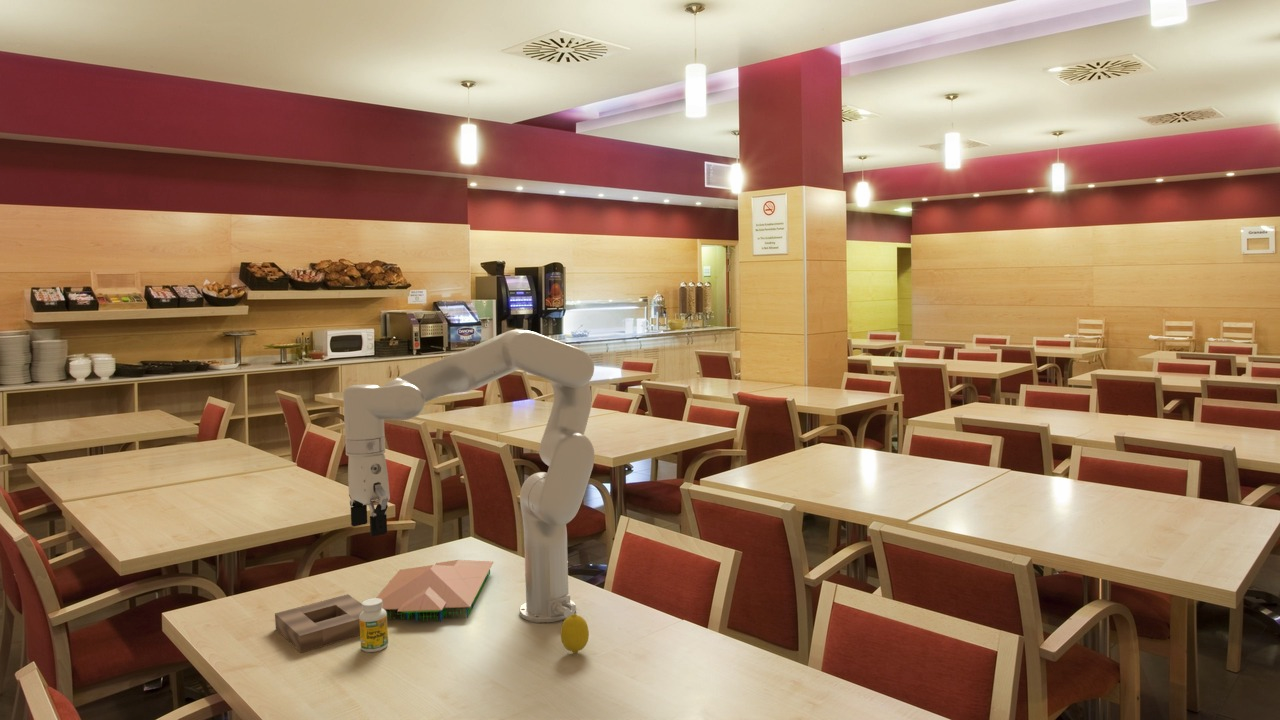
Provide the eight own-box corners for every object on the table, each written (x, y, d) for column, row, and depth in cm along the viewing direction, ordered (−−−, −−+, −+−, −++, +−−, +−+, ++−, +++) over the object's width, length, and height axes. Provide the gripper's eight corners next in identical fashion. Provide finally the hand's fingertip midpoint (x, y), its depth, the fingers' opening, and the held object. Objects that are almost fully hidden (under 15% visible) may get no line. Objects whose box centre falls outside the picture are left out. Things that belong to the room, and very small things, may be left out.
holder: (377, 629, 171) (376, 613, 171) (300, 652, 161) (299, 635, 161) (348, 609, 183) (347, 594, 183) (275, 629, 173) (274, 613, 173)
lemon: (593, 649, 160) (592, 610, 159) (582, 661, 154) (581, 621, 154) (568, 645, 161) (567, 607, 161) (556, 657, 156) (555, 618, 156)
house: (362, 629, 173) (360, 592, 172) (405, 576, 206) (403, 545, 205) (468, 626, 173) (466, 589, 173) (493, 573, 206) (492, 543, 206)
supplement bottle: (384, 639, 166) (382, 594, 166) (391, 648, 162) (389, 602, 161) (357, 645, 164) (355, 600, 163) (364, 655, 159) (362, 608, 158)
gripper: (401, 449, 156) (405, 535, 157) (366, 438, 169) (369, 517, 170) (364, 454, 151) (368, 543, 152) (330, 443, 164) (334, 524, 165)
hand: (368, 529), depth 161 cm, fingers open, 9 cm apart
